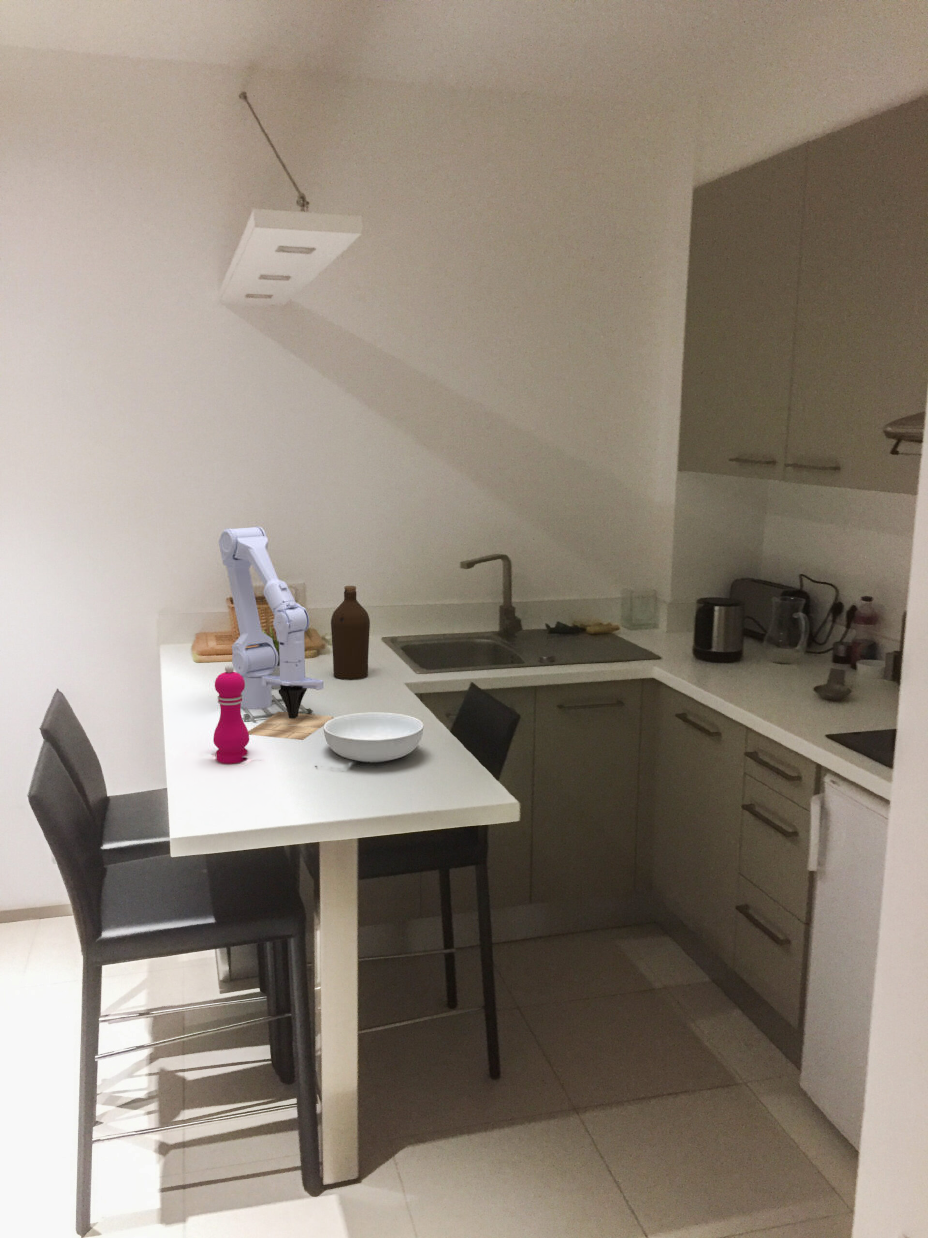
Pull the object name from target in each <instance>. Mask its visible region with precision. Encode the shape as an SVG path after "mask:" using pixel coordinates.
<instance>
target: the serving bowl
mask: <svg viewBox="0 0 928 1238" xmlns="http://www.w3.org/2000/svg"><path fill="white" fill-rule="evenodd" d="M424 727H425V726H424V723H423V722H422V721H421V720H420V719H418V718H416V717H413V716H410V715H407V714H401V713H394V712H383V711H381V712H376V711H374V712H360V713H359V712H358V713H351V714H344V715H341V716H336V717H334V718H333V719H331V720H329V721H327V722H326V723H325V724H324V726H323V733H324V738H325V741H326V744H327V745H328V746H329V747H330V749H331V750H332V751H333V752H334V753H335V754H338V755H339V756H341V757H343V758H345V759H348V760H353V761H357V762H362V763H368V762H369V764H370V763H374V764H375V763H384V762H389V761H392V760H396V759H399V758H402V757H405V756H407V755H408V754H410V753H411V752H413V751H414V750H415V749H416V748H417V746H418V745H419V744H420V742H421V740H422V736H423V733H424Z"/></svg>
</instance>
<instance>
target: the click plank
mask: <svg viewBox="0 0 928 1238" xmlns="http://www.w3.org/2000/svg"><path fill="white" fill-rule="evenodd" d="M333 718H335V717H334V716H330V715H321V714H319V715H318V714H311V713H309V714H308V713H299V712H298V716H297V717H296V718H295V719H292V718H289V716H288V712H287V711H276V712H275V713H274V714H272V715H271V716H270V717H268V718H267V719H265V720H264V721H263V722H262V723H272V724H282V725H292V726H302V727H312V728H319V729H321V728H322V727H324V724H325V723H326V722H327V721H329V720H331V719H333Z"/></svg>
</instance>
